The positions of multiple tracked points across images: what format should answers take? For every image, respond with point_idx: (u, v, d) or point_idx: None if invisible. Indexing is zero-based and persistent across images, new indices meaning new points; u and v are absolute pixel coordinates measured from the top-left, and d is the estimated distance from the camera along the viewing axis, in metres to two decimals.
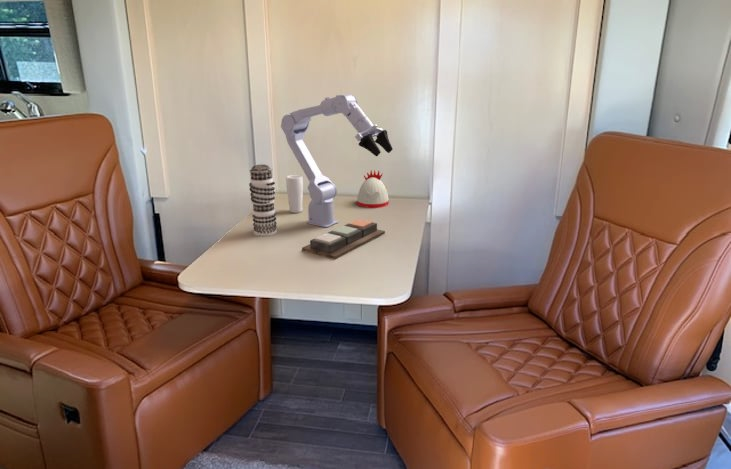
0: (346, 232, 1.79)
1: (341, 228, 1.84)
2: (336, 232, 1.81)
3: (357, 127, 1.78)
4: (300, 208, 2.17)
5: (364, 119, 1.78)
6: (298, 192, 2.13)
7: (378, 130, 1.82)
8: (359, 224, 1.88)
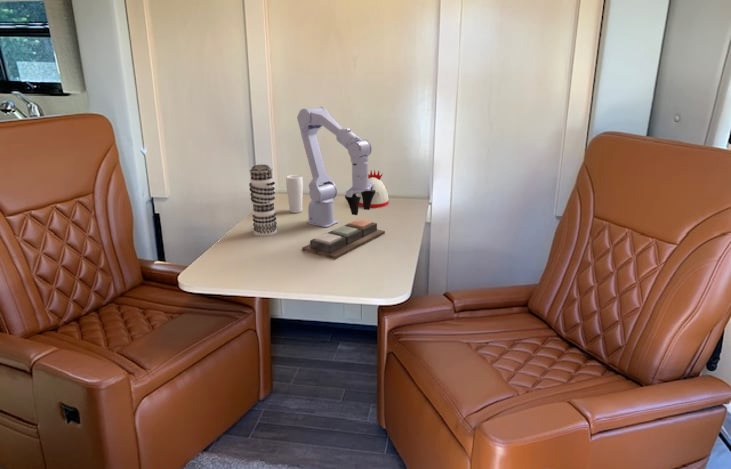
0: (346, 232, 1.79)
1: (341, 228, 1.84)
2: (336, 232, 1.81)
3: (354, 179, 1.82)
4: (300, 208, 2.17)
5: (364, 178, 1.82)
6: (298, 192, 2.13)
7: None
8: (359, 224, 1.88)
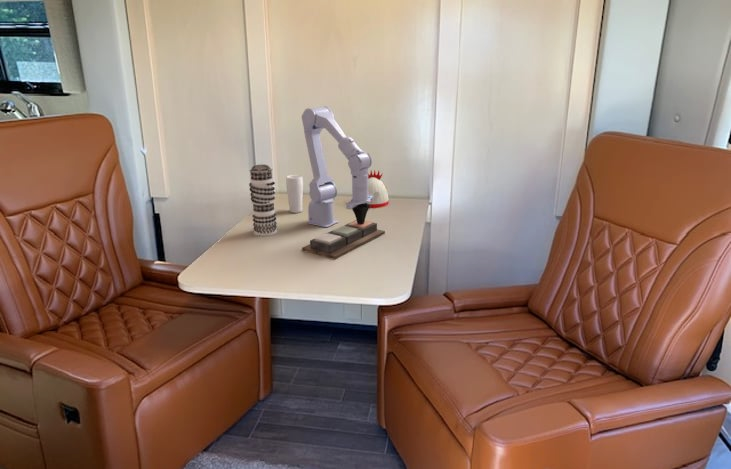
0: (346, 232, 1.79)
1: (341, 228, 1.84)
2: (336, 232, 1.81)
3: (354, 191, 1.84)
4: (300, 208, 2.17)
5: (364, 190, 1.83)
6: (298, 192, 2.13)
7: None
8: (359, 225, 1.88)
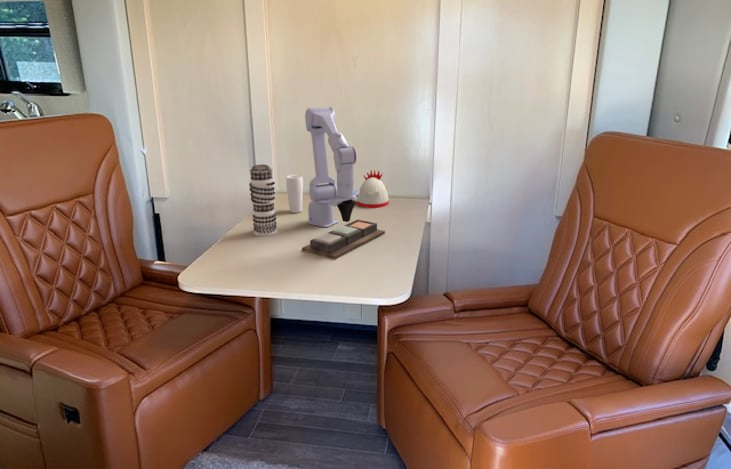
0: (346, 232, 1.79)
1: (341, 228, 1.84)
2: (336, 232, 1.81)
3: (339, 187, 1.76)
4: (300, 208, 2.17)
5: (349, 186, 1.75)
6: (298, 192, 2.13)
7: None
8: (359, 227, 1.88)
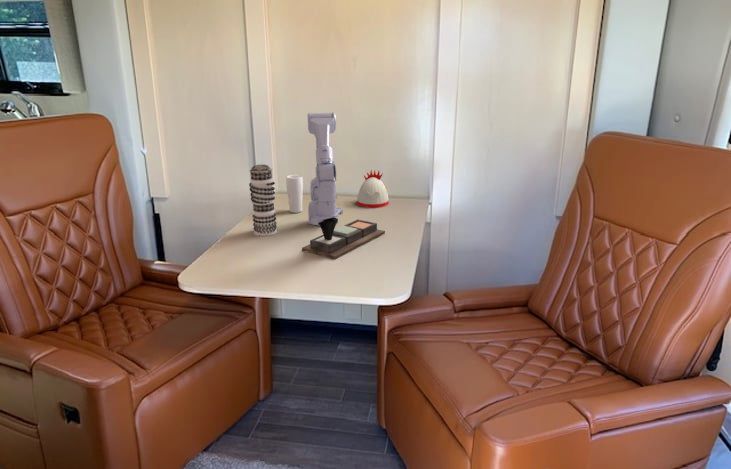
0: (346, 232, 1.79)
1: (341, 228, 1.84)
2: (336, 232, 1.81)
3: (320, 205, 1.69)
4: (300, 208, 2.17)
5: (331, 204, 1.69)
6: (298, 192, 2.13)
7: None
8: (359, 227, 1.88)
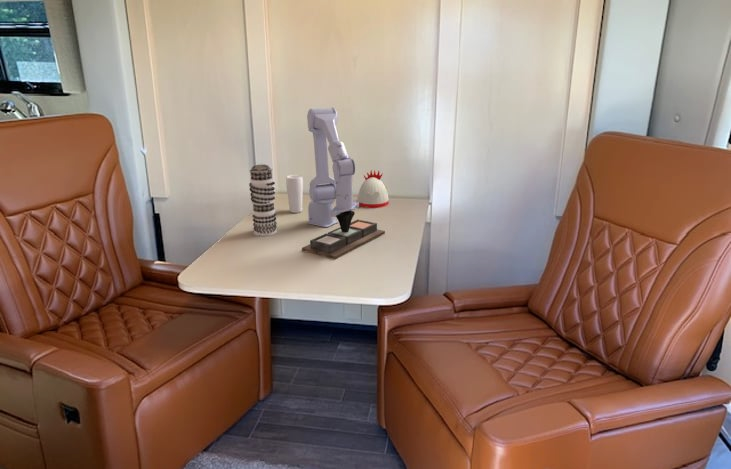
0: (346, 234, 1.80)
1: None
2: None
3: (338, 198, 1.77)
4: (300, 208, 2.17)
5: (348, 197, 1.76)
6: (298, 192, 2.13)
7: None
8: (359, 227, 1.88)
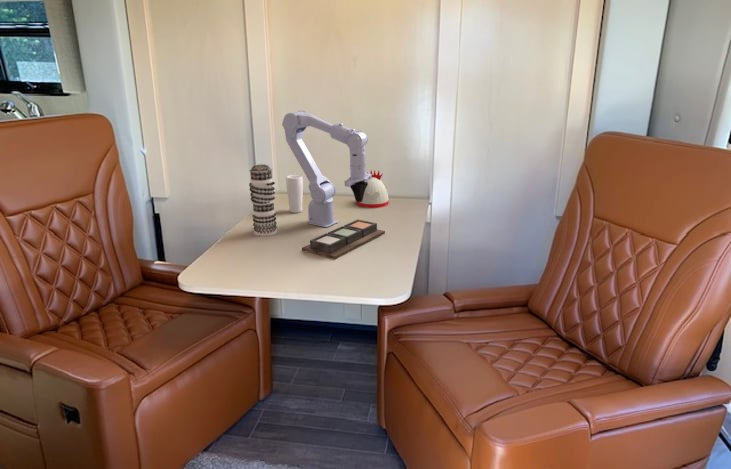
0: (346, 235, 1.80)
1: (341, 231, 1.84)
2: None
3: (352, 169, 1.89)
4: (300, 208, 2.17)
5: (362, 168, 1.88)
6: (298, 192, 2.13)
7: None
8: (359, 227, 1.88)
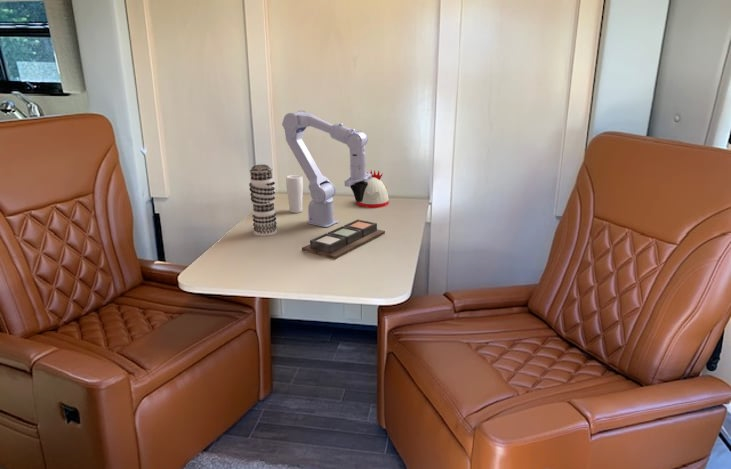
0: (346, 235, 1.80)
1: (341, 231, 1.84)
2: None
3: (352, 169, 1.89)
4: (300, 208, 2.17)
5: (362, 168, 1.88)
6: (298, 192, 2.13)
7: None
8: (359, 227, 1.88)
